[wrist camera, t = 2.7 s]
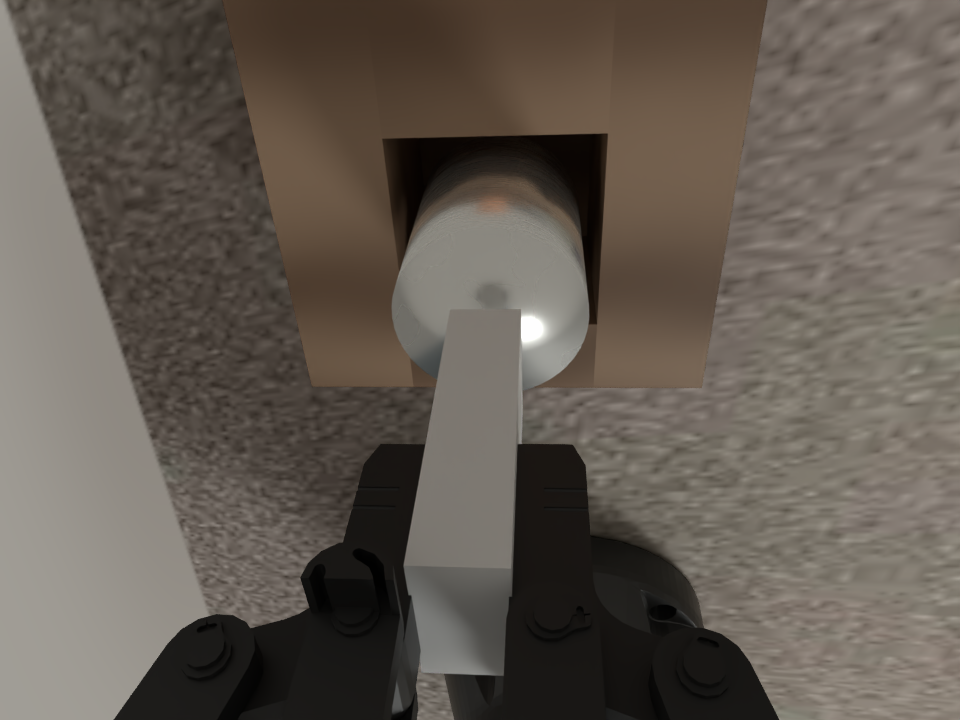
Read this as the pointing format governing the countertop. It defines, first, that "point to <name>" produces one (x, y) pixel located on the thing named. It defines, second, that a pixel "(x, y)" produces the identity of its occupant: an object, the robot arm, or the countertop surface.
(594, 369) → the brown wooden block
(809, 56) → the countertop surface
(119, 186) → the countertop surface
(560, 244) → the grey rounded piece
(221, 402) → the countertop surface
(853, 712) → the countertop surface
